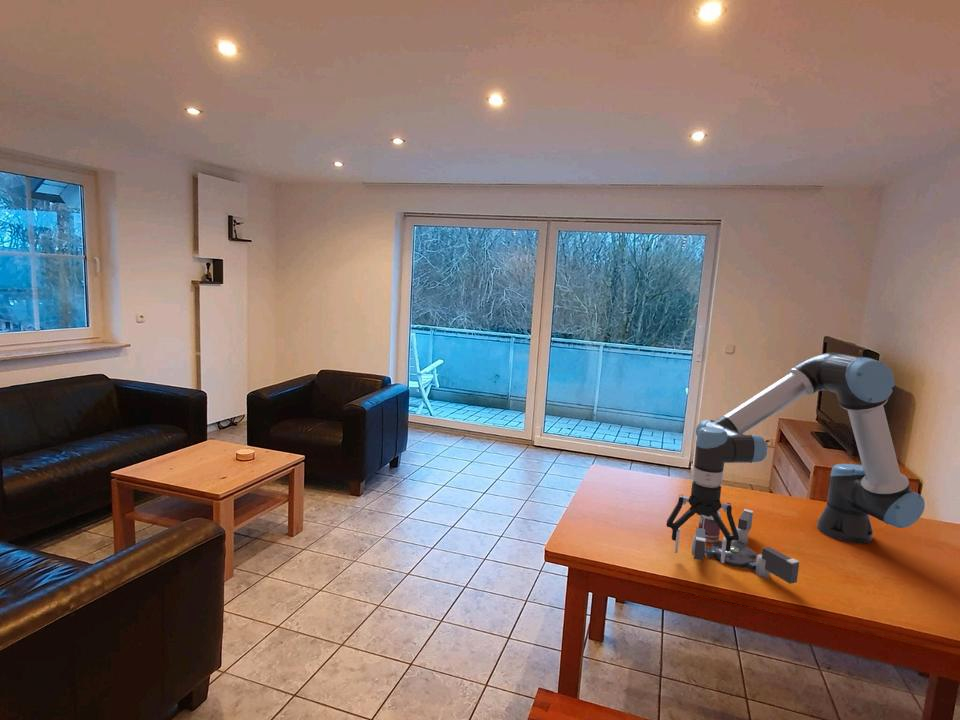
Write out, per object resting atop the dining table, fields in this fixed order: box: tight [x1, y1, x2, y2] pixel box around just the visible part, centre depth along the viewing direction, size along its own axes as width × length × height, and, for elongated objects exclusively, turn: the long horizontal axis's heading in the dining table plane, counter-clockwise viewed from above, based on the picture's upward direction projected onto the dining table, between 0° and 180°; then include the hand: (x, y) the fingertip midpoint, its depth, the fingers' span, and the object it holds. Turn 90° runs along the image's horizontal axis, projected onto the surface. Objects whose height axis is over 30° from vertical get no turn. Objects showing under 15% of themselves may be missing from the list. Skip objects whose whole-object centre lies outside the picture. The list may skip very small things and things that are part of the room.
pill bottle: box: [698, 509, 722, 544], centre depth 168 cm, size 6×6×11 cm
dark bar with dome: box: [691, 527, 707, 561], centre depth 155 cm, size 11×4×8 cm, turn 158°
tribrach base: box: [705, 540, 757, 572], centre depth 158 cm, size 14×15×3 cm
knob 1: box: [733, 508, 754, 547], centre depth 168 cm, size 11×4×8 cm, turn 143°
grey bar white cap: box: [754, 546, 800, 585], centre depth 145 cm, size 11×4×8 cm, turn 23°
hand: (698, 555), depth 152 cm, fingers open, 11 cm apart
